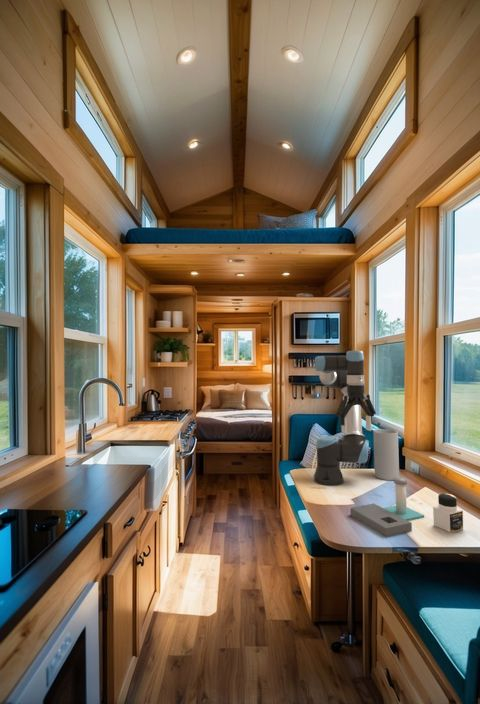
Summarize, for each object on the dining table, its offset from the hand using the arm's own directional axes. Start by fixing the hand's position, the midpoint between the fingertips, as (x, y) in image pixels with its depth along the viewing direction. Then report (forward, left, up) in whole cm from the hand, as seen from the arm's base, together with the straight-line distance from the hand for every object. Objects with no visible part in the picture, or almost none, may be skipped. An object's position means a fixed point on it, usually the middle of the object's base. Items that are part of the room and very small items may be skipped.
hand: (356, 431), depth 162 cm
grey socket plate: (+20, -6, -32) cm, 38 cm away
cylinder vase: (-23, +38, -32) cm, 55 cm away
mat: (+17, +8, -32) cm, 37 cm away
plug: (+17, +8, -31) cm, 36 cm away
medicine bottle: (+33, +15, -32) cm, 48 cm away
